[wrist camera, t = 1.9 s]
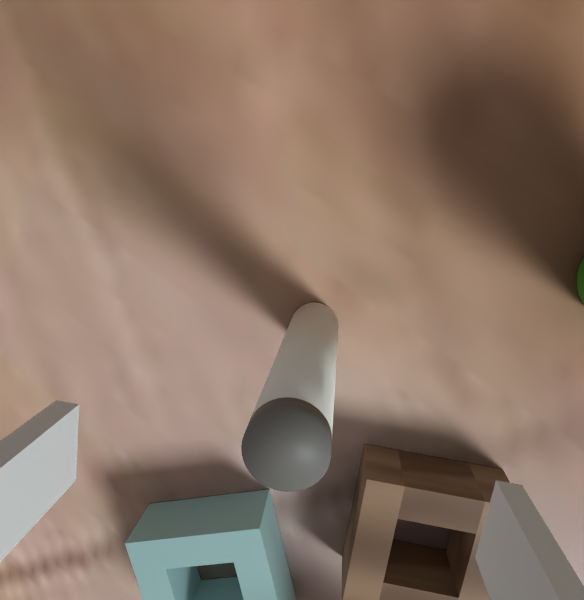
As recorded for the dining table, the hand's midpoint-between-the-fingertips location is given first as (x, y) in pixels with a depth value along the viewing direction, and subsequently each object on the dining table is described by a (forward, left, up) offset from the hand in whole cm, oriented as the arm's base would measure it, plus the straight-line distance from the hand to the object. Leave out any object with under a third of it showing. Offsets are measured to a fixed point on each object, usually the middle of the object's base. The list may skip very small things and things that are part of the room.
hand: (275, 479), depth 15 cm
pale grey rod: (0, 0, -16) cm, 16 cm away
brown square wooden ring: (+12, +9, -16) cm, 22 cm away
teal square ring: (+18, -4, -16) cm, 24 cm away
